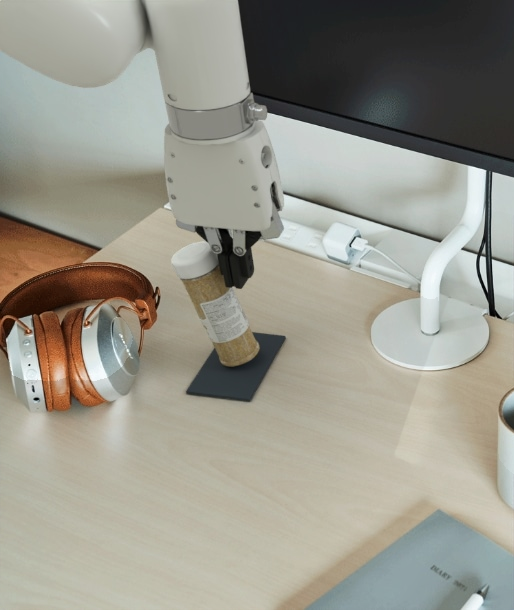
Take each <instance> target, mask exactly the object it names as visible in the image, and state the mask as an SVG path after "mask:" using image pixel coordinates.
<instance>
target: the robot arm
mask: <svg viewBox="0 0 514 610" xmlns="http://www.w3.org/2000/svg"><path fill="white" fill-rule="evenodd" d="M148 49H151V50H153V51H154V54H155V59H156V65H157V69H158V75H159V79H160V85H161V91H162V94H163V99H164V104H165V109H166V114H167V119H168V124H166V126H165V128H164V136H163V138H164V139H163V162H164V163H163V165H164V175H165V177H164V178H165V185H166V190H167V191H166V193H167V197H168V202H169V207H170V210H171V213H172V215H173V217H174V218H175V225H176V227H178V228H179V229H181V230H184V231H188V232H191V233H193V234H195V233H196V235H198V236H199V237H200V238H202V239H203V241H206V242H207V243H209V246H210V249H211V250H212V252H214V253H216V254H217V257H218V262H219V268H220V273H221V275H223V276H224V281H225V286H226V287H227V288H235V289H237V290H242V289H243V288H244V286H245V285H246V283H247V282H248V281H249V279H251V278H252V277H253V276H254V274H255V273H254V272H255V264H254V263H255V262H254V258H253V257H254V256H253V251H252V247H253V246H255V244H257V242H259V241H261V240H264V241H265V240H272V239H278V238H280V236H281V235H282V234H283V232H284V230H285V227H284V226H285V225H284V224H283V222H282V219H281V216H280V214H279V212H282V211H283V209H284V207H285V197H284V191H283V184H282V180H281V175H280V171H279V166H278V162H277V158H276V154H275V151H274V147H273V145H272V144H273V143H272V142H271V139H270V136H269V133H268V131H267V128H266V126H265V123H264V122H263V121H266V120H267V118H268V108H267V106H266V105H262V104H259V103H257V102H255V97H254V93H253V92H251V86H250V77H249V72H248V63H247V57H246V56H247V55H246V49H245V42H244V35H243V28H242V21H241V13H240V5H239V0H0V52H1V53H3V54H5V55H7V56H8V57H10V58H12V59H14V60H15V61H17V62H19V63H21V64H23V65H24V66H25V67H28V68H30V69H32V71H33V70H34V71H35V72H37V73H39V74H41V75H43V76H45V77H47V78H49V79H52V80H53V81H56V82H59V83H62V84H65V85H68V86H71V87H77V88H83V89H86V88H89V89H91V88H95V89H96V88H100V87H104V86H106V85H109V84H110V83H112V82H114V81H115V80H117V79H118V78H120V76H122V74H123V73H124V72H125V71H126V70H127V69H128V68H129V66H130V64H132V61H133V60H134V59H135V58H136V56H137V55H138V54H139V53H142V52H144V51H145V50H148Z"/></svg>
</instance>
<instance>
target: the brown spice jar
mask: <svg viewBox="0 0 514 610" xmlns="http://www.w3.org/2000/svg"><path fill="white" fill-rule="evenodd" d="M170 263H171V266H172V268H173V270H174V272H175V274H176V276H177V277H178V278H179V280H181V282H182V284H183V286H184V288H185V290H186V292H187V294H188V296H189V298H190V300H191V303H192V305H193V307H194V310H195V312H196V314H197V316H198V318H199V320H200V323H201V324H202V326H203V328H204V331H205V333H206V335H207V336H208V339H209V340H210V342H211V343H212V346H213V348H215V349H216V351H217V353H218V355H219V359H220V362H221V363H222V364H223V365H224V366H228V367H233V366H238V365H241V364H244V363H246V362H248V361H250V360H251V359H253V358H254V357H255V356H256V355H257V353H258V351H259V349H260V347H259V344H258V342H257V341H256V340H255V338H254V335H253V333H252V332H253V331H252V329H251V327H250V325H249V323H250V322H249V321H248V317H246V314H245V311H244V310H243V308H242V306H241V303H240V301H239V299H238V297H237V295H236V292H235V290H234V287H232V288H227V287H226V286H225V281H224V276H223V275H221V273H220V268H219V262H218V257H217V254H216V253H214V252H212V250H211V249H210V246H209V243H207V242H206V241H205V240H203V241H201V240H200V241H196V242H192V243H190V244H187V245H185V246H184V247H182V248H180V249H178V250H177V251H176V252H174V254H173V255H172V257H171V259H170Z"/></svg>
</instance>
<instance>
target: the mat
mask: <svg viewBox="0 0 514 610" xmlns="http://www.w3.org/2000/svg"><path fill="white" fill-rule="evenodd" d="M252 333H253V335H254V338H255V340H256V341H257V342H258V344H259V347H260V349H259V351H258V353H257V355H256V356H255V357H254V358H253V359H251V360H250V361H248V362H246V363H244V364H241V365H238V366H233V367H228V366H224V365H223V364H222V363H221V362H220V359H219V355H218V353H217V351H216V349H215V347H213V350H212V351H211V352H210V354H209V355H208V357H207V358H206V360H205V361H204V363H203V365H202V366H201V367H200V369H199V371H198V372H197V374H196V375H195V377H194V378H193V380H192V381H191V383H190V384H189V386H188V387H187V388H186V390H185V394H186V395H192V396H199V397H207V398H216V399H222V400H223V399H224V400H230V401H231V400H232V401H240V402H247V403H250V402H251V401H252V399H253V398H254V395H255V394H256V392H257V390H258V388H259V387H260V385H261V383H262V382H263V380H264V377H265V376H266V374H267V373H268V371H269V369H270V368H271V365H272V364H273V362H274V360H275V358H276V356H277V355H278V353H279V351H280V350H281V348H282V346H283V345H284V342H285V341H286V335H283V334H281V335H280V334H273V333H266V332H265V333H263V332H256V331H252Z"/></svg>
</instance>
